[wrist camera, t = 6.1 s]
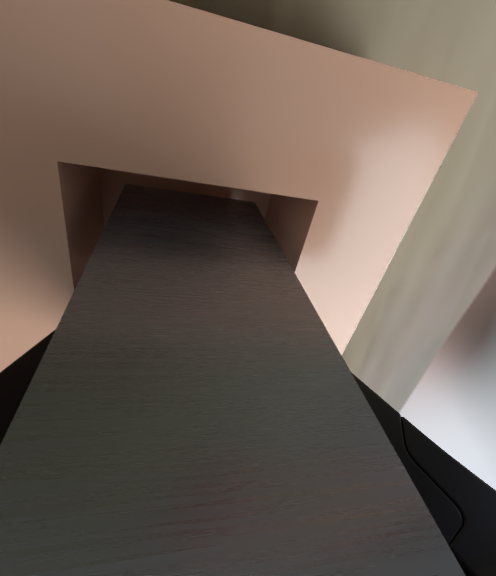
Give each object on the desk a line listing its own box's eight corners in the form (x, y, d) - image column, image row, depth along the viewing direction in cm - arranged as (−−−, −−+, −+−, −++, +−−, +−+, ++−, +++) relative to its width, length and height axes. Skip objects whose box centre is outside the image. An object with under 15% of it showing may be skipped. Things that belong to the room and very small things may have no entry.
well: (283, 330, 18) (314, 408, 14) (45, 323, 14) (-6, 420, 10) (370, 83, 11) (478, 92, 7) (-27, -26, 8) (-236, -120, 4)
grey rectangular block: (233, 298, 12) (333, 727, 4) (127, 292, 11) (-3, 843, 3) (254, 201, 10) (533, 698, 2) (125, 183, 9) (-272, 1014, 1)
